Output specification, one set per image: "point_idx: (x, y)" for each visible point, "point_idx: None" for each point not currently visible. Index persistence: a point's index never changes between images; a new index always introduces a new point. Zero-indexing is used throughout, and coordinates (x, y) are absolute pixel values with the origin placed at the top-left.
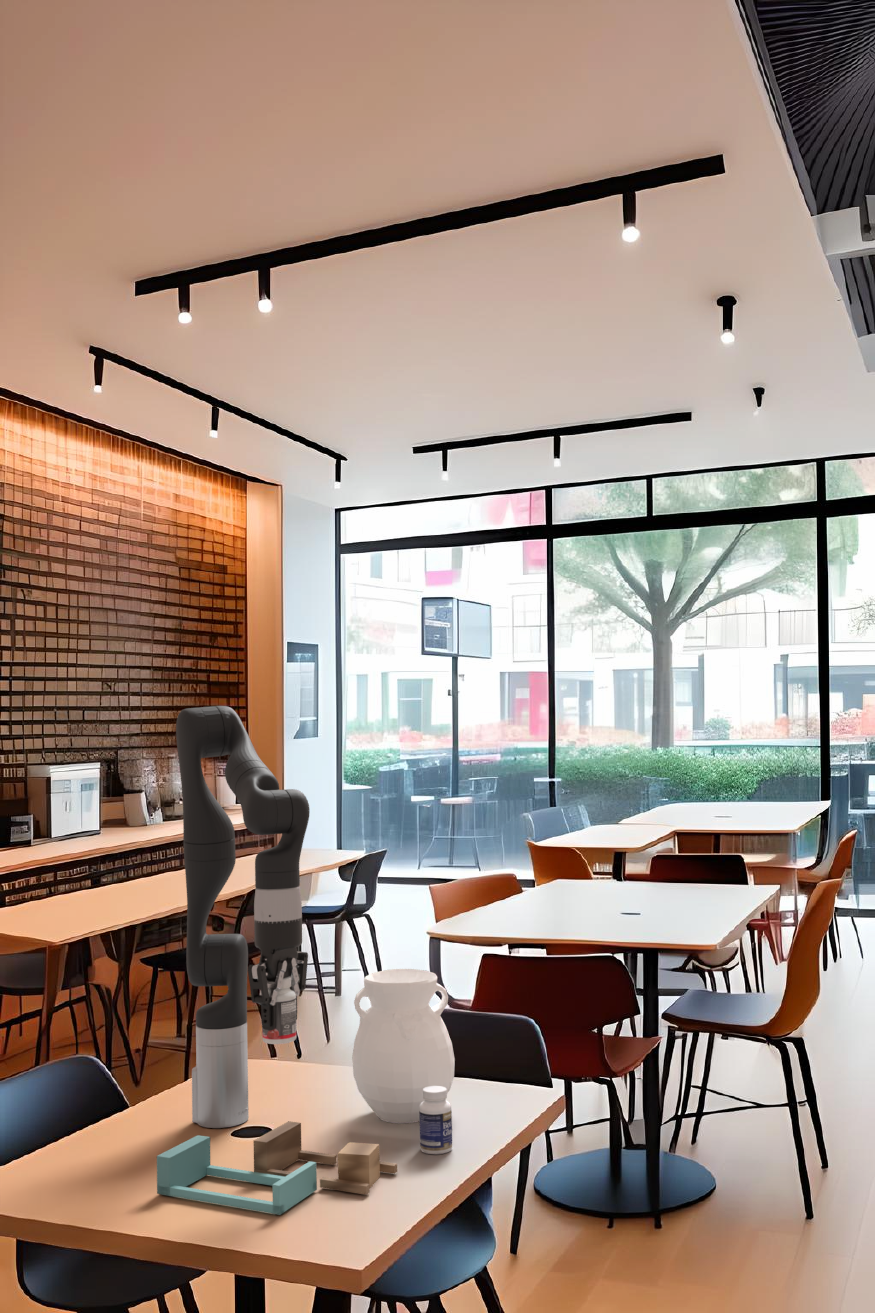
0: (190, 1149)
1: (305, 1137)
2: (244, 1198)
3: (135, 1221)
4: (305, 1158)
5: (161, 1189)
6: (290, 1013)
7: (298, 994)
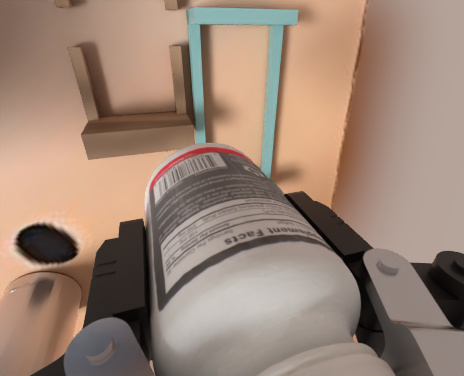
0: None
1: (5, 173)
2: (274, 78)
3: (318, 160)
4: (96, 104)
5: None
6: (257, 196)
7: (89, 333)
